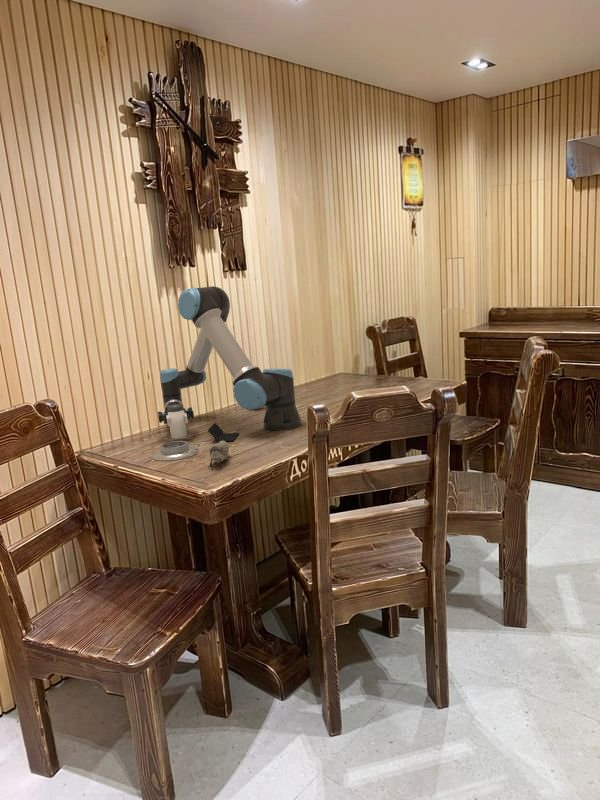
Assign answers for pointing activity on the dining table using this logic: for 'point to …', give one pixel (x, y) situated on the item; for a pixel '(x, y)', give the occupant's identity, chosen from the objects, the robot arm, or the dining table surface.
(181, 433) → the lens
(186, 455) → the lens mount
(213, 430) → the handheld gaming console
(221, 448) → the decorative bird
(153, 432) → the dining table surface
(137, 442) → the dining table surface
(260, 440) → the dining table surface
